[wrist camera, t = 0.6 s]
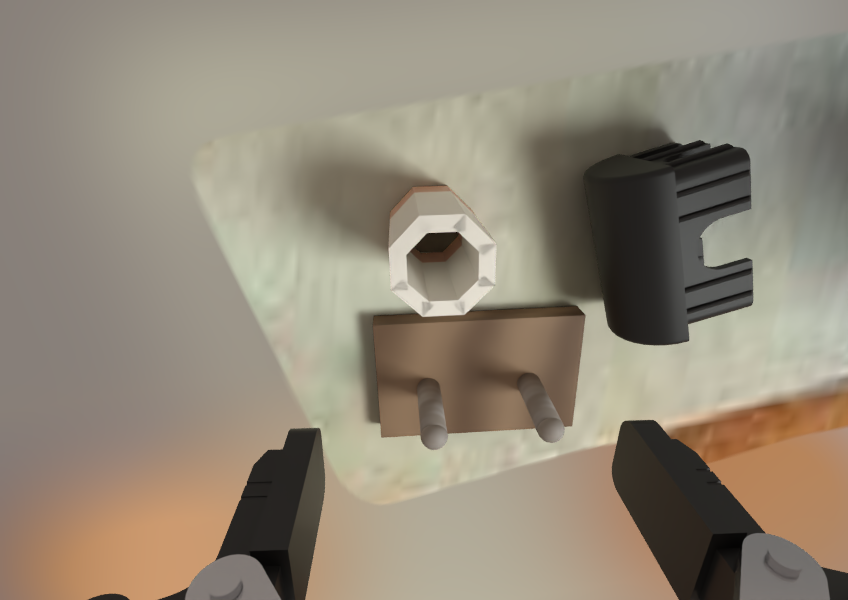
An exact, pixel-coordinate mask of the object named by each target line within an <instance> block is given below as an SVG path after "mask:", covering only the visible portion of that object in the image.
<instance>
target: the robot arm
mask: <svg viewBox="0 0 848 600" xmlns="http://www.w3.org/2000/svg"><path fill="white" fill-rule="evenodd" d="M612 477H613V482H614V485H615V488H616V490H617V492H618V494H619V495H620V497H621V499H622V501H623V502H624V504H625V506H626V508H627V509H628V511H629V513H630V515H631V516H632V518H633V520H634V522H635V523H636V525H637V527H638V529H639V530H640V532H641V534H642V536H643V537H644V539H645V541H646V542H647V544H648V546H649V548H650V549H651V551H652V553H653V555H654V557H655V558H656V560H657V562H658V564H659V565H660V567H661V569H662V571H663V572H664V574H665V576H666V578H667V579H668V581H669V583H670V585H671V586H672V588H673V590H674V592H675V593H676V595H677V597H678V599H679V600H848V573H845V572H840V571H836V570H832V569H827V568H823V567H821V566H820V565H819V564H818V563H817V562H816V561H815V560H814V558H812V557H811V556H810V555H809V554H808V553H807V552H805V551H804V550H803V549H801V548H800V547H798V546H797V545H795V544H793V543H792V542H790V541H788V540H785V539H783V538H781V537H778V536H775V535H771V534H766V533H765V532H764V531H763V530H762V529H761V527H760V526H759V525H758V524H757V523H756V521H755V520H754V519H753V518H752V517H751V516H750V514H748V512H747V511H746V510H745V509H744V508H743V506H742V505H741V504H740V503H739V502H738V501H737V499H735V497H734V496H733V495H732V494H731V493H730V491H729V490H728V489H727V488H726V487H725V485H722V484H721V481H720V480H719V479H718V477H717V476H716V475H715V474H714V473H713V472H710V468H709V467H708V466H707V465H706V463H705V462H704V461H703V460H702V459H701V458H700V456H699V455H698V454H697V453H696V452H695V451H693V450H692V449H690V448H689V447H687V446H686V445H684V444H683V443H682V442H680V441H679V440H677V439H671V438H670V437H669V436H668V435H667V434H666V432H665V431H664V430H663V429H662V428H661V426H660V425H659V424H658V423H657V422H656V421H654V420H636V421H624V422H623V423H622V425H621V427H620V431H619V436H618V441H617V446H616V451H615V455H614V459H613V464H612ZM324 492H325V470H324V460H323V449H322V439H321V431H320V428H302V429H290V430H289V432H288V435H287V438H286V441H285V445H284V447H283V450H268V451H267V452H266V453H265V454H264V455H263V456H262V457H261V458H260V459H259V460H258V461H257V462H256V463H255V464H254V466H253V468H252V471H251V473H250V476H249V478H248V481H247V486H245V488H244V491H243V493H242V496H241V500H240V501H239V504H238V506H237V509H236V511H235V514H234V516H233V519H232V521H231V524H230V526H229V529H228V531H227V534H226V536H225V539H224V541H223V544H222V546H221V549H220V551H219V554H218V556H217V558H216V560H215V561H214V562H212V563H211V564H209V565H208V566H206V567H205V568H204V569H203V570H201V571H200V573H199V574H198V575H197V576H196V577H195V578H194V580H193V581H192V582H191V584H190V586H189V587H188V588H186V589H184V590H182V591H180V592H178V593H176V594H173V595H171V596H168V597H165V598H162V599H159V600H305V597H306V592H307V586H308V581H309V576H310V569H311V564H312V559H313V554H314V548H315V542H316V537H317V532H318V526H319V521H320V516H321V511H322V505H323V500H324ZM89 600H129V599H128V598H127V597H125V596H123V595H120V594H105V595H100V596H97V597H93V598H91V599H89Z"/></svg>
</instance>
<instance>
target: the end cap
mask: <svg viewBox="0 0 848 600" xmlns="http://www.w3.org/2000/svg"><path fill="white" fill-rule="evenodd" d="M583 179H584V185H585V191H586V197H587V203H588V209H589V215H590V221H591V227H592V233H593V239H594V245H595V251H596V257H597V263H598V269H599V275H600V281H601V287H602V294H603V300H604V306H605V312H606V318H607V323H608V326H609V328H610V329H611V331H612V332H613V333H615V334H616V335H617V336H619V337H621V338H623V339H625V340H627V341H630V342H633V343H638V344H644V345H671V344H678V343H683V342H687V341H689V331H688V324H691V323H694V322H697V321H701V320H704V319H708V318H711V317H714V316H718V315H721V314H725V313H728V312H731V311H735V310H738V309H742V308H745V307H748V306H751V305H752V303H753V266H752V260H751V259H748V258H744V259H741V260H738V261H734V262H731V263H728V264H724V265H721V266H716V267H707V266H704V259H703V244H702V238H700V236H701V234H702V233H703V231H704V230H705V229H706V228H707V227H708V226H709V225H710V224H711V223H713V222H714V221H716V220H718V219H720V218H723V217H726V216H729V215H733V214H736V213H739V212H742V211H746V210H749V209H751V175H750V157H749V155H748V153H747V151H746V150H745V149H743V148H740V147H733V146H732V145H730V144H724V145H721V146H717V147H714V148H710V144H708V143H704V142H703V141H701V140H699V141H696V142H693V143H689V144H686V145H682V144H680V143H669V144H666V145H663V146H660V147H656V148H653V149H650V150H647V151H644V152H641V153H638V154H635V155H631V156H624V155H620V154H619V155H616V156H613V157H610V158H608V159H605V160H603V161H601V162H599V163H597V164H595V165H593V166H592V167H590V168H589V169H588V170H587V171H586V172H585V174H584V177H583Z"/></svg>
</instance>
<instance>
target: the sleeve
mask: <svg viewBox="0 0 848 600" xmlns="http://www.w3.org/2000/svg"><path fill="white" fill-rule="evenodd" d="M439 232H458V237H457V238H456V239H455V240H454V241H453V242H452V243H451V244H450V245H449V246H448V247H447V248H446V249H445V250H444V251H443V252H430V253H420V252H419V251H418V250H417V249H416V248H415V247H414V246H415V245H416V244H417V243H418V242H419V241H420V240H421V239H422V238H423V237H424V236H425V235H426V234H427V233H439ZM388 249H389V264H390V281H391V291H392V292H393V293H395V294H396V295H397V296H398V297H399V298H401V299H402V300H403V301H404V302H405V303H407V304H408V305H409V306H410V307H411V308H413V309H414V310H415V311H416V312H417V313H419V314H420V315H421V316H422V317H429V316H450V315H465V314H466V313H467V312H468V311H469V310H470V309H471V308H472V307H473V306H474V305H475V304H476V303H477V302H478V301H479V300H481V299H482V298H483V297H484V296H485V295H486V294H487V293H488V292H489V291H490V290H491V289H492V288H493V287H494V286H495V270H496V243H495V241H494V240H493V238H492V237H491V236H490V234H489V233H488V232H487V230H486V229H485V227H484V226H483V225H482V223H481V222H480V221H479V219H478V218H477V216H476V215H475V214H474V212H473V211H472V210H471V208H469V207H468V206H467V205H466V204H465V203H464V202H463V201H462V200H461V199H460V198H459V197H458V196H457V195H456V194H455V193H454V192H453V191H452V190H451V189H450V188H449V187H448V186H421V187H412V189H411V190H410V191H409V192H408V193H407V194H406V195H405V196H404V197H403V198H402V199H401V201H400V202H399V203H398V204H397V205H396V206H395V207H394V208H393V209H392V210H391V211H390V225H389V246H388Z"/></svg>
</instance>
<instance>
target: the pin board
mask: <svg viewBox="0 0 848 600" xmlns="http://www.w3.org/2000/svg"><path fill="white" fill-rule="evenodd" d="M584 324H585V314H584V313H583V312H582V311H581V310H580V309H579V307H578V306H570V307H549V308H528V309H508V310H487V311H468V312H467V313H466V314H465V315H450V316H429V317H422V316H421V315H420V314H404V315H383V316H374V319H373V334H374V347H375V360H376V373H377V386H378V399H379V411H380V424H381V437H398V436H415V435H421V440H422V443H423V444H424V445H425V446H426V447H427V448H429V449H432V450H437V449H440V448H442V447H443V446H444V445H445V443H446V441H447V438H448V434H449V433H466V432H483V431H500V430H516V429H533V428H536V430H537V432H538V434H539V436H540V437H541V438H542V439H543V440H544V441H546V442H550V443H553V442H557V441H559V440H560V439H561V438H562V437H563V435H564V427H567V426H572V423H573V414H574V406H575V398H576V390H577V381H578V373H579V365H580V357H581V348H582V340H583V332H584Z"/></svg>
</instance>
